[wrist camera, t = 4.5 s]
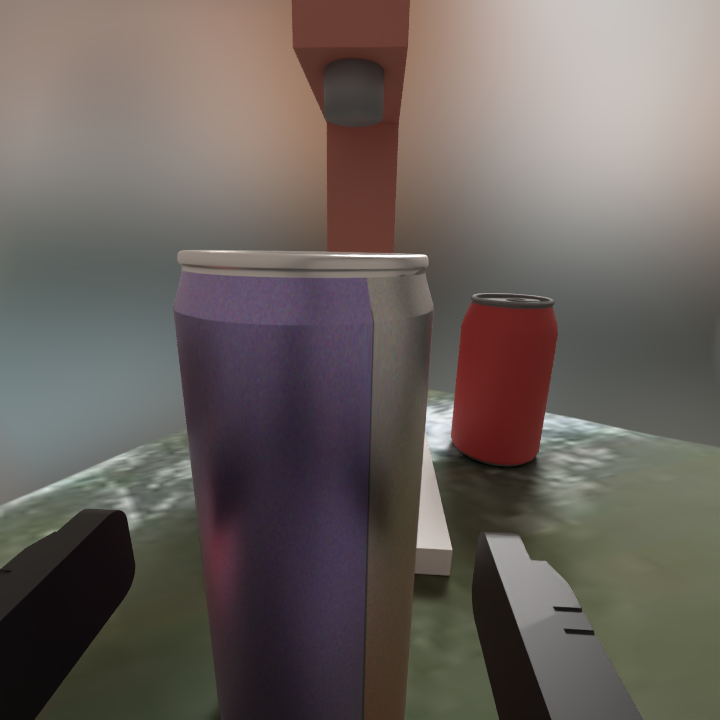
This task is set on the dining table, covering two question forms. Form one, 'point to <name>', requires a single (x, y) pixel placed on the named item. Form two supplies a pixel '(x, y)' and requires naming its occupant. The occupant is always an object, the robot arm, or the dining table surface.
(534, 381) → the beer can
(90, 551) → the robot arm
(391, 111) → the bench press
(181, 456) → the dining table surface
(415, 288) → the beverage can
